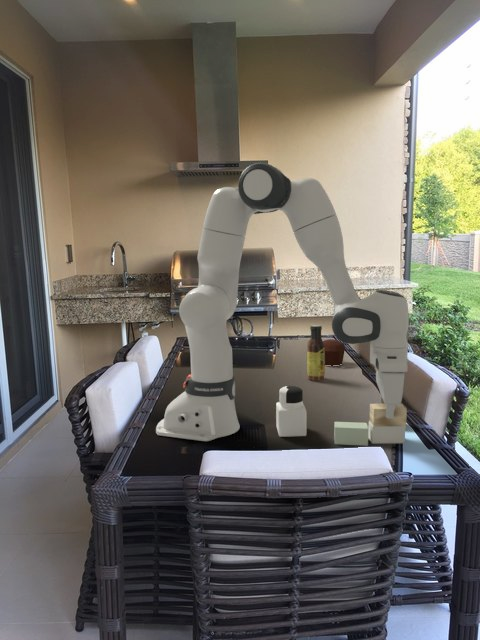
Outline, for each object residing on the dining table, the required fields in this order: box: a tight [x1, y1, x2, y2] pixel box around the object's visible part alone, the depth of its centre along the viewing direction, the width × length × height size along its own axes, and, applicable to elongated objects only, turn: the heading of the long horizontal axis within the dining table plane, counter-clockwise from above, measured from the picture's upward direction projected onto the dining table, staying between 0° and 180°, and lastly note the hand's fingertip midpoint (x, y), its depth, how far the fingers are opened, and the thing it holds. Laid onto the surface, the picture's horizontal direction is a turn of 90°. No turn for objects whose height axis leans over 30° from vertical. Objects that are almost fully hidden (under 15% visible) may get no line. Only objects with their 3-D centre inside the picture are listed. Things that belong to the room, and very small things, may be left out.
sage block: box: [333, 421, 369, 447], centre depth 124 cm, size 8×4×4 cm, turn 81°
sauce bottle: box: [306, 324, 326, 382], centre depth 180 cm, size 7×6×20 cm
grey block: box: [368, 420, 406, 444], centre depth 125 cm, size 8×4×4 cm, turn 89°
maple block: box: [369, 402, 408, 427], centre depth 124 cm, size 8×4×4 cm, turn 89°
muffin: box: [322, 338, 347, 366], centre depth 203 cm, size 12×11×10 cm
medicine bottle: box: [275, 385, 308, 438], centre depth 131 cm, size 7×7×12 cm
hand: (386, 411), depth 124 cm, fingers open, 8 cm apart
